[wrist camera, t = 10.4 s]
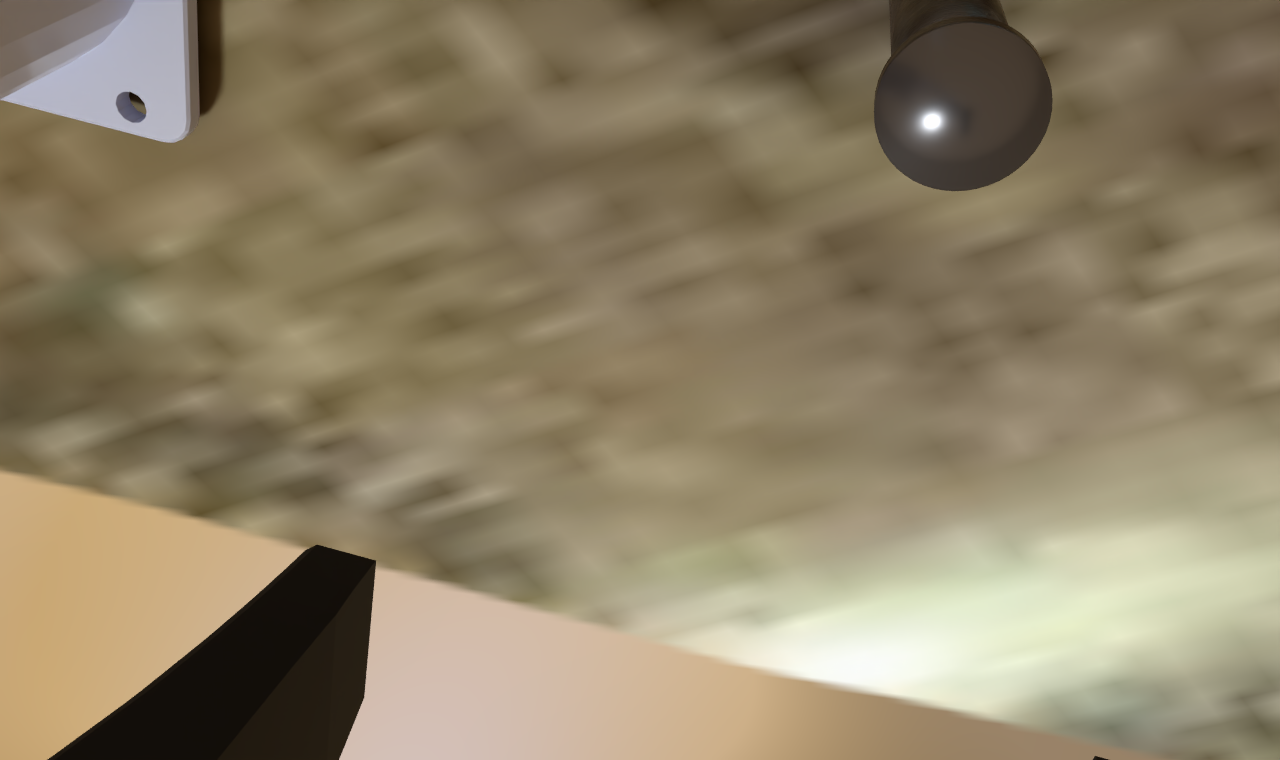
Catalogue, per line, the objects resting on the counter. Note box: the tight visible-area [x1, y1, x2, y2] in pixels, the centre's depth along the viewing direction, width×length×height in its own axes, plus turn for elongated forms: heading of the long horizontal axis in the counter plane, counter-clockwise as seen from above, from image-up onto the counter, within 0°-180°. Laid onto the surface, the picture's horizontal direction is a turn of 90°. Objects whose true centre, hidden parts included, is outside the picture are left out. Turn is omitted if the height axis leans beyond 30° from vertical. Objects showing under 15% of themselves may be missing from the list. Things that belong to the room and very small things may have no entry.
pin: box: [874, 0, 1052, 191], centre depth 14 cm, size 2×2×5 cm
